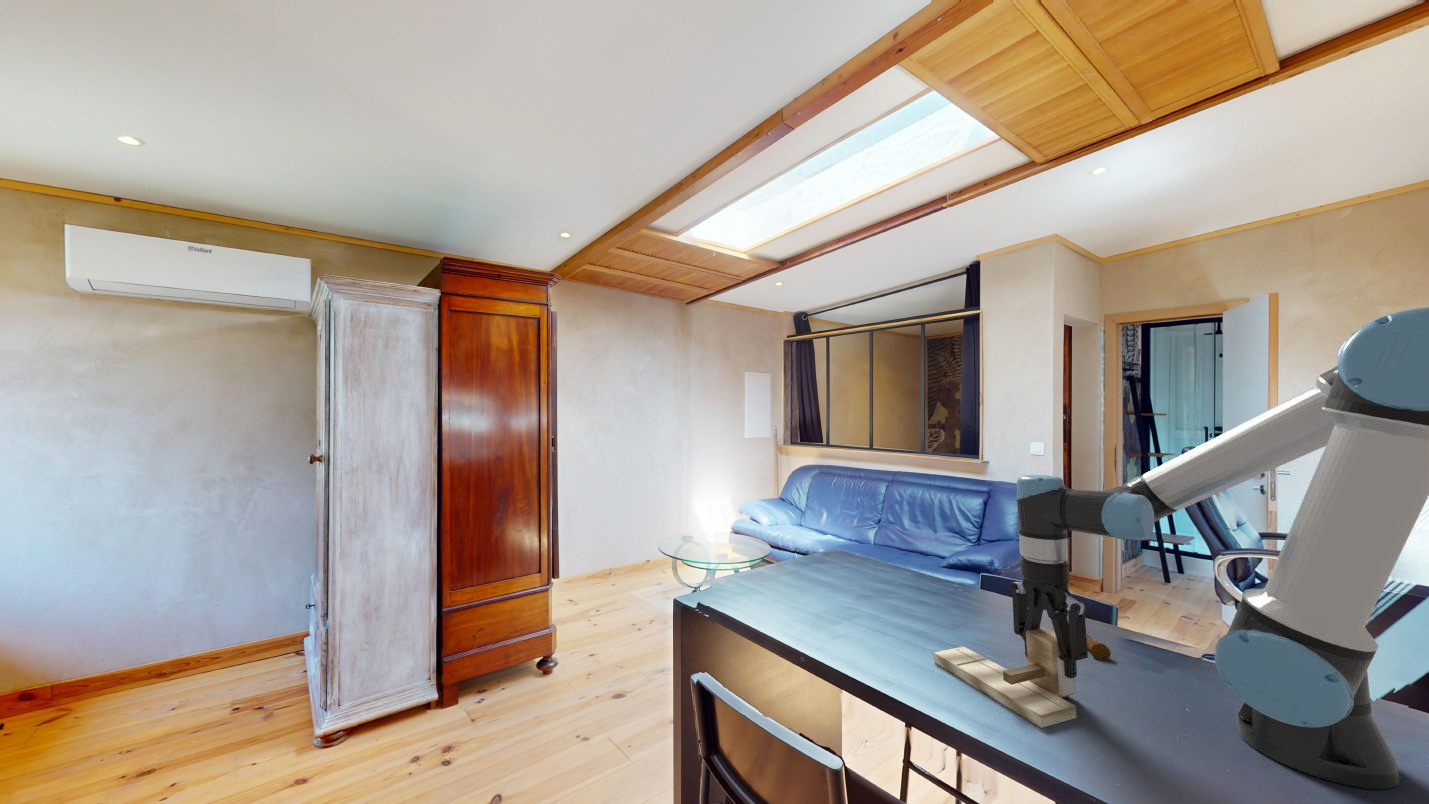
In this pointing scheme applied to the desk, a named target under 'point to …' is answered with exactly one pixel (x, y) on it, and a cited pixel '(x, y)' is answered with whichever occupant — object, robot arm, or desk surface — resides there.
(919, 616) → the desk surface
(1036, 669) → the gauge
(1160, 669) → the desk surface
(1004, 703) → the board
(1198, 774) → the desk surface
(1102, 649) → the primitive tool
